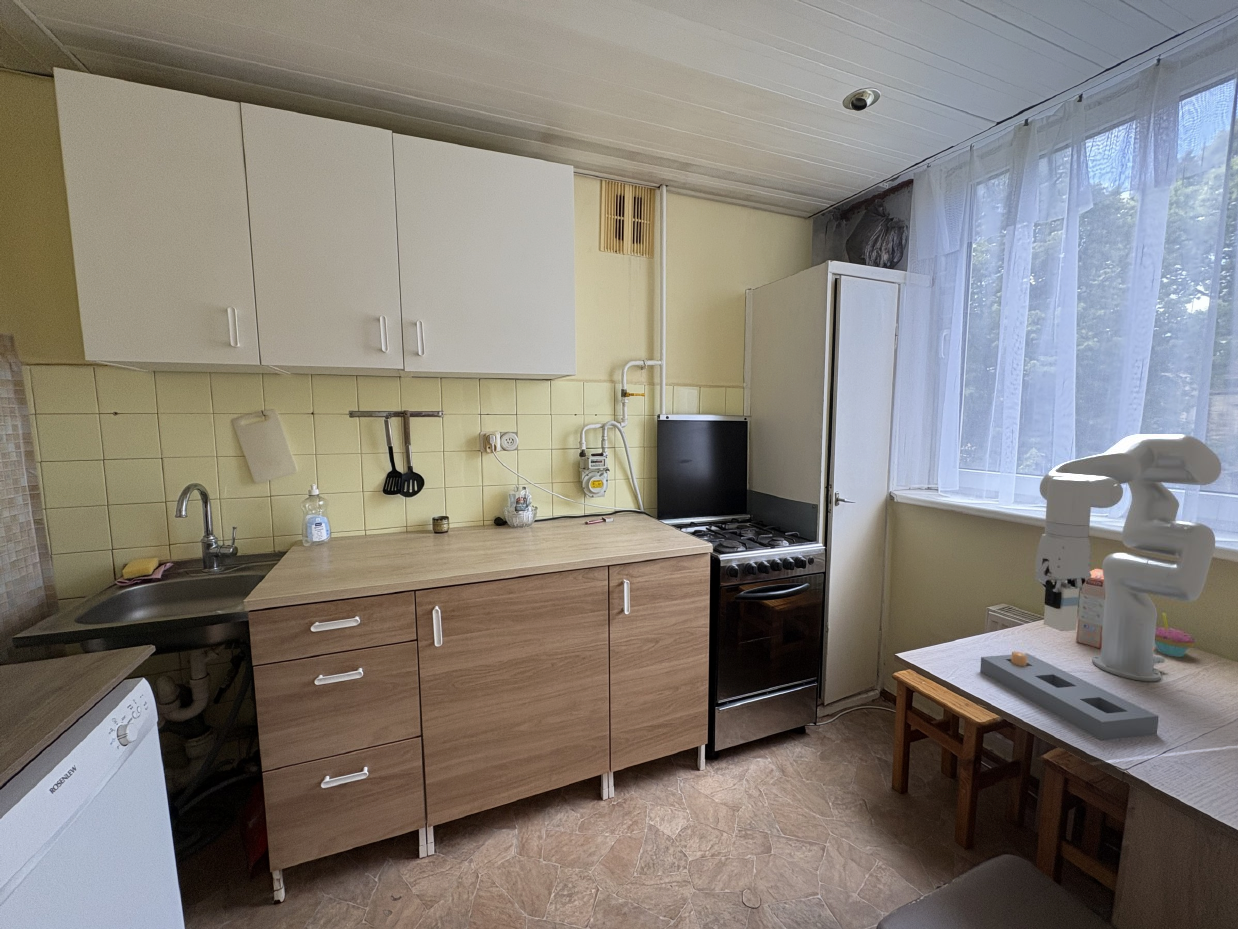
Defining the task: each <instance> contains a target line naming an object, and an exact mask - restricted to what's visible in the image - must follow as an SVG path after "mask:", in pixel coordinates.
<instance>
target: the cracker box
mask: <svg viewBox="0 0 1238 929" xmlns="http://www.w3.org/2000/svg"><path fill="white" fill-rule="evenodd" d="M1090 573H1091V577H1090V578H1089V579H1088V580H1087V581H1086V582H1085V583H1084V584H1083V585H1082V590H1081V591H1080V593H1079V606H1078V614H1077V625H1076V641H1075V642H1076V643H1080V644H1083V645H1086V646H1089V647H1093V648H1097V649H1100V650H1101V644H1102V631H1103V618H1104V607H1105V582H1104V576H1103V569H1102V568H1101V569H1100V568H1094V569H1093V570H1090Z"/></svg>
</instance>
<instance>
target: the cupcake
mask: <svg viewBox="0 0 1238 929" xmlns="http://www.w3.org/2000/svg"><path fill="white" fill-rule="evenodd" d="M1162 619H1163V620H1162V621H1163V625H1164V626H1161V627H1156V631H1155V642H1154V645H1156V650H1157V651H1158V652H1160V654H1164V655H1166V656H1169V655H1170V656H1171V657H1174V656H1175V658H1182V657H1184V655H1185V654H1186V652H1187V650H1188V649H1191V648H1194V647H1196V642H1195V638H1194V637H1192V636H1191V635H1190V634H1188V633H1186V632H1185V631H1182V630H1180V629H1179V630H1178V629H1176V628H1171V627H1169V626H1168V620H1167V613H1165V611H1164V610H1162Z"/></svg>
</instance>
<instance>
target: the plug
mask: <svg viewBox="0 0 1238 929" xmlns="http://www.w3.org/2000/svg"><path fill="white" fill-rule="evenodd" d="M1052 583H1053V584H1054V582H1052ZM1059 592H1061V594H1062V595H1061V608H1060V609H1056V608H1053V607H1050V606H1048V605H1045V604H1044V612H1043V613H1044V615H1043V625H1044V626H1047V627H1050V628H1052V629H1055V630H1057V631H1059V632H1069V631H1077V623H1078V611H1079V606H1078V603H1079V604H1080V593H1079V588H1075V587H1072V586H1071V584H1068V583H1065V581H1061V586H1060V590H1059Z"/></svg>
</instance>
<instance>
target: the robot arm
mask: <svg viewBox="0 0 1238 929" xmlns="http://www.w3.org/2000/svg"><path fill="white" fill-rule="evenodd" d="M1221 473H1222V462H1221V460H1220V459H1219V457H1218V455H1217V454H1216V453H1215V452H1214V451H1213V450H1212V449H1211V448H1209V446H1207V445H1206V444H1205V443H1204V442H1203V441H1201V440H1200V439H1198V438H1196V437H1194V436H1191V435H1189V434H1165V433H1164V434H1163V433H1162V434H1158V433H1154V434H1153V433H1152V434H1150V433H1147V434H1146V433H1142V434H1133V435H1129V436H1126V437H1124V438H1123V439H1121V440H1120V441H1118V442H1117V443H1115V444H1114V445H1112V446H1111V447H1110V448H1109V449H1107V450H1106V451H1105V452H1103V453H1100V454H1095V455H1091V456H1086V457H1084V458H1083V457H1082V458H1079V459H1074V460H1069V461H1067V462H1063V463H1061V464H1059V465H1057V466H1055V467H1054V468H1052V470H1050V471H1048V472H1047V473H1046V474H1045V476H1043V478H1042V480H1041V481H1040V483H1039V493H1040V496H1041V497H1042V498H1043V499H1044V500H1045V501H1046V508H1045V522H1044V534H1042V535H1041V537H1040V540H1039V543H1038V546H1037V552H1036V558H1035V567H1034V568H1035V569H1034V571H1035V573H1036V574H1035V576H1034V579H1035V580H1037V581H1038V582H1040V583H1041V584H1042V588H1043V589H1044V606H1045V605H1048V606H1050V607H1053V608H1056V609H1060V608H1061V595H1062V594H1061V592H1059V590H1060V586H1061V582H1063V580H1064V583H1068V584H1071V586H1072V587H1075V588H1079V594H1080V593H1081V590H1082V585H1083V584H1084V583H1085V582H1086V581H1087V580H1088V579H1089V578H1090V577H1091V573H1090V571H1091V562H1092V554H1091V552H1092V550H1091V543H1090V542H1091V541H1090V538H1089V537H1090V524H1091V522H1090V521H1091V512H1092V511H1091V508H1094V509H1095V508H1096V509H1097V508H1098V509H1108V508H1111V507H1114V506H1116V505H1118V503H1119V502H1120V501H1121V500H1122V498H1123V495H1124V489H1123V484H1128V487H1129V491H1130V493H1131V503H1130V506H1129V508H1128V512H1127V515H1126V519H1125V521H1124V525H1123V528H1122V532H1121V542H1122V544H1123V545H1124V546H1125V547H1127V548H1129V549H1131V550H1135V551H1138V552H1143V553H1147V554H1148V553H1149V554H1156V555H1161V556H1164V557H1165V556H1166V557H1171V558H1172V557H1173V558H1177V559H1178V560H1177V561H1175V560H1171V559H1166V558H1160V557H1156V556H1150V555H1142V554H1137V553H1131V552H1123V551H1122V552H1114V553H1110V554H1108V555H1107V556H1105V557H1104V559H1103V561H1102V568H1101V570H1103V576H1104V582H1105V607H1104V618H1103V631H1102V644H1101V649H1100V654H1095V655H1093V656H1092V657H1091V658H1092V659H1091V662H1092V664H1093V665H1095V666H1096V667H1097V668H1099V669H1102V670H1103V671H1106V672H1108V673H1109V674H1112V675H1113V674H1114V675H1115V676H1119V677H1122V678H1127V679H1129V680H1130V679H1131V680H1134V681H1141V682H1158V681H1160V680H1161V677H1162V674H1161V673H1160V671H1159V670H1157V669H1156V668H1155V665H1156V664H1164V663H1165V661H1166V660H1165V657H1163V656H1162V655H1160V654H1159V655H1154V650H1155V631H1156V628H1157V619H1158V610H1157V608H1156V605H1155V603H1154V602H1153V600H1152V599H1151V597H1150V596H1149V595H1153V596H1156V597H1160V598H1165V599H1170V600H1175V601H1180V602H1186V603H1187V602H1194V601H1196V600H1197V599H1198V598H1199V597H1200V596H1201V594H1202V592H1203V590H1204V587H1205V583H1206V580H1207V577H1208V573H1209V570H1210V566H1211V562H1212V559H1213V557H1214V553H1215V548H1216V537H1215V533H1214V531H1213V529H1211V528H1210V527H1209V526H1208V525H1205V524H1203V523H1199V522H1195V521H1194V522H1193V521H1188V520H1181V519H1177V515H1178V511H1179V509H1180V508H1179V507H1180V502H1179V500H1178V499H1177V498H1176V496H1175V494H1173V492H1172V491H1171V490H1169V488H1167V487H1166V486H1165V485H1164V484H1163V483H1165V484H1166V483H1167V484H1176V485H1177V484H1178V485H1191V486H1205V485H1206V486H1207V485H1211V484H1213V483H1214V482H1216V481H1217V480H1218V478H1219V477H1220V476H1221ZM1053 581H1054V582H1053ZM1053 583H1054V584H1053ZM1079 604H1080V602H1079V603H1078V607H1079Z"/></svg>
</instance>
